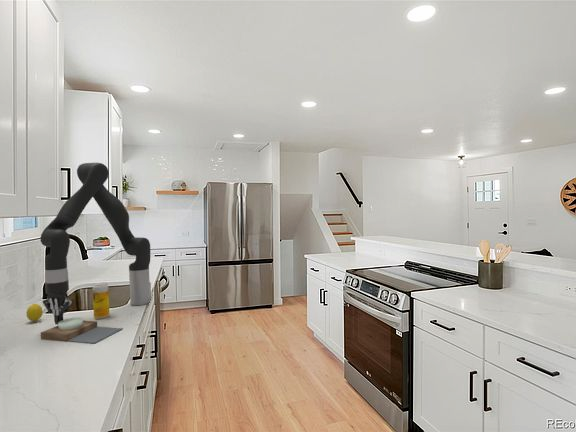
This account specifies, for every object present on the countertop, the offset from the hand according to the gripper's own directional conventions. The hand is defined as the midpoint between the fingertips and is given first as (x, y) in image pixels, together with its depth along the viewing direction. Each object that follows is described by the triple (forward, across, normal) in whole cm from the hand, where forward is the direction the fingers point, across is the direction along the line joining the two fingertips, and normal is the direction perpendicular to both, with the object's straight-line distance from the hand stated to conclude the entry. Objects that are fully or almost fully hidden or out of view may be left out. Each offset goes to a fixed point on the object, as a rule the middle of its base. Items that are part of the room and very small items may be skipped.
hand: (58, 323), depth 130 cm
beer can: (+4, -3, -18) cm, 19 cm away
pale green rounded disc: (+1, -6, 0) cm, 6 cm away
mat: (+3, -17, 0) cm, 18 cm away
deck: (+3, -5, 0) cm, 6 cm away
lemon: (+4, +22, -8) cm, 23 cm away
